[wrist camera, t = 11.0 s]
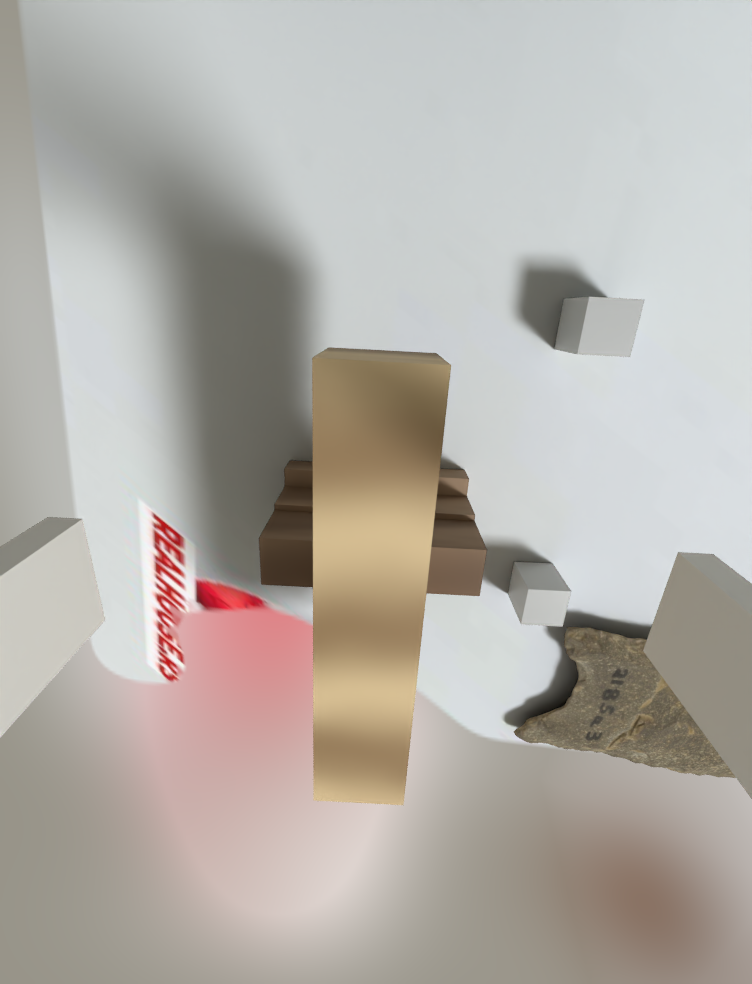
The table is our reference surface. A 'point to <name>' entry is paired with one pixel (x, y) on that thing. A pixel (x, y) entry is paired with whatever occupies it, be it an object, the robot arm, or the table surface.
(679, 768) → the stone tool
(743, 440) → the table surface
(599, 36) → the table surface
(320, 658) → the brass bar
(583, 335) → the gray blocks
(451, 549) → the stepped block
